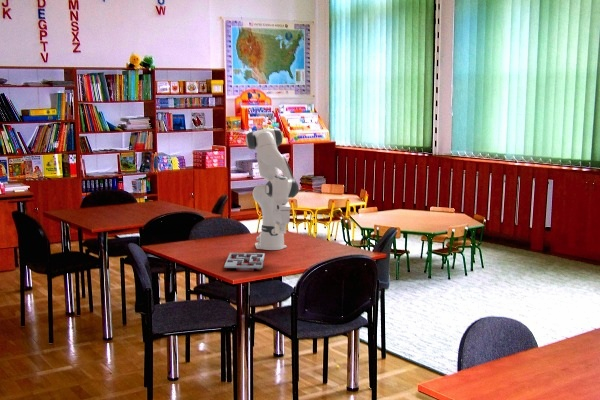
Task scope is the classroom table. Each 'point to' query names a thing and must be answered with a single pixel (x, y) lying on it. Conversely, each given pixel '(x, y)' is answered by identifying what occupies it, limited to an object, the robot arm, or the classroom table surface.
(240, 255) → the maze game
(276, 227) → the cream cube
